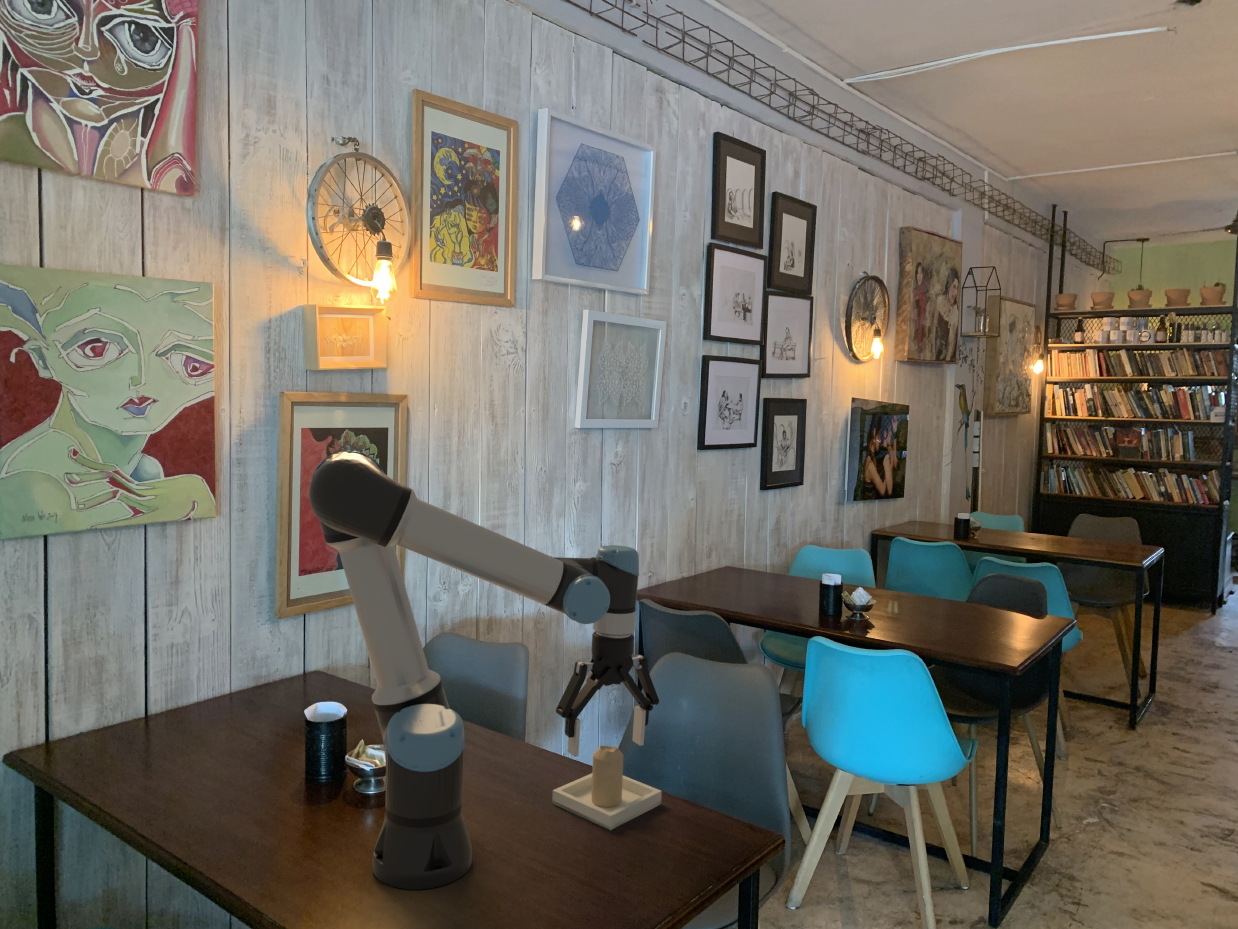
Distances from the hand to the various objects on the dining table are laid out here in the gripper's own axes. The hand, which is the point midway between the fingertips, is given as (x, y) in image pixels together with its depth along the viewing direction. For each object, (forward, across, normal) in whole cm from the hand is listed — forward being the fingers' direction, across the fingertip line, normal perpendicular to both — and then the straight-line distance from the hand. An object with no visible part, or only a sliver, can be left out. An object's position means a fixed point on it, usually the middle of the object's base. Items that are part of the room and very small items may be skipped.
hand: (606, 748), depth 159 cm
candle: (+10, -1, 0) cm, 10 cm away
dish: (+10, -1, 0) cm, 10 cm away
